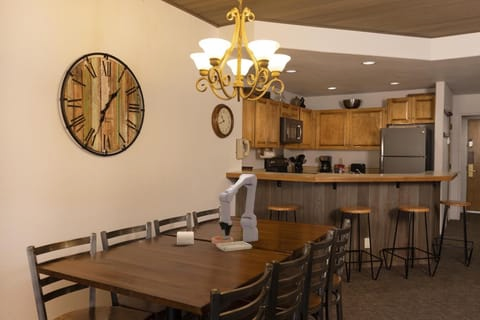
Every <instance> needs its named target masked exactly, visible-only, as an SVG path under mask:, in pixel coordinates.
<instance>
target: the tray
mask: <svg viewBox="0 0 480 320" xmlns="http://www.w3.org/2000/svg"><path fill="white" fill-rule="evenodd" d="M215 247H216V248H218V249H220V250H221V251H223V252H232V251H239V250H240V251H241V250H243V251H244V250H249V249H253V245H252V244H250V243H248V242H246V241H243V240H240V241H233V242H228V243H218V244H216V245H215Z"/></svg>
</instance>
